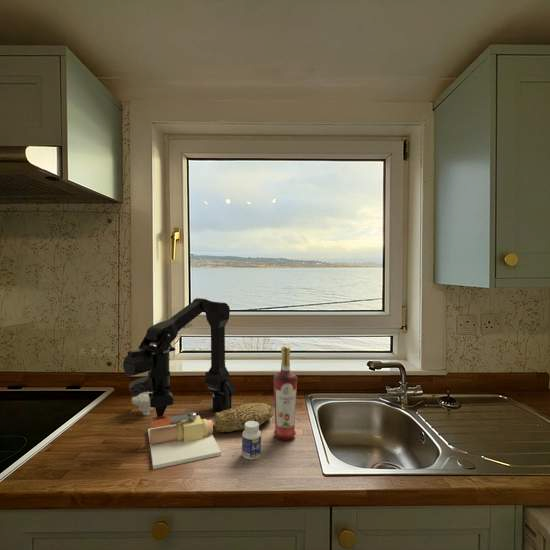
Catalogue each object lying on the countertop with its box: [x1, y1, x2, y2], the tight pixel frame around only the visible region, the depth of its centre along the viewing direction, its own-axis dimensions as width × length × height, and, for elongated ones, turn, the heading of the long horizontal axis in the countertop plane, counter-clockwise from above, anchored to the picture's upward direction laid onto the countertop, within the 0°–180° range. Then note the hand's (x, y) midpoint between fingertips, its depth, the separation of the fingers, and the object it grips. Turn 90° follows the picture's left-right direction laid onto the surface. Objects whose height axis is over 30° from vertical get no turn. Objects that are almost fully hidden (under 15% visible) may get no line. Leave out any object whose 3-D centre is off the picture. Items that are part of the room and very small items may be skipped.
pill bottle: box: [241, 421, 262, 461], centre depth 100 cm, size 5×5×9 cm
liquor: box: [273, 345, 298, 441], centre depth 110 cm, size 7×7×28 cm
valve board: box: [147, 414, 222, 470], centre depth 106 cm, size 18×22×6 cm
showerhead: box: [131, 391, 154, 416], centre depth 125 cm, size 9×7×10 cm
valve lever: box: [151, 411, 197, 428], centre depth 106 cm, size 13×3×2 cm, turn 113°
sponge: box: [214, 402, 275, 434], centre depth 118 cm, size 13×8×20 cm
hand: (159, 418), depth 108 cm, fingers closed
